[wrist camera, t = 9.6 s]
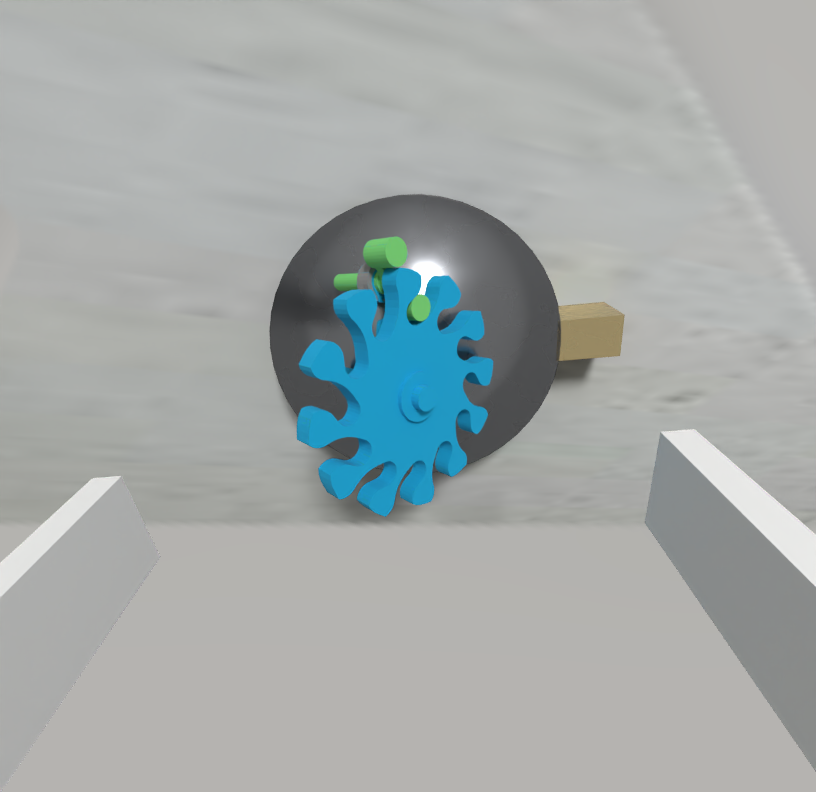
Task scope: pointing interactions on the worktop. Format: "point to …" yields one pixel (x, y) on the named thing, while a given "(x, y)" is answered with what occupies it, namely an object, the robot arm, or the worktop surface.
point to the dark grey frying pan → (480, 291)
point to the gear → (395, 381)
